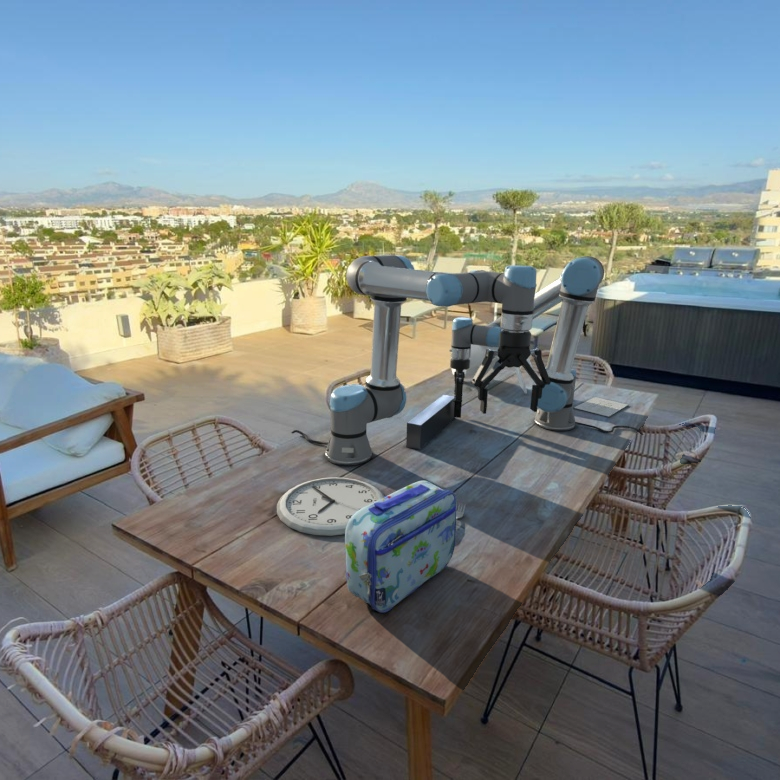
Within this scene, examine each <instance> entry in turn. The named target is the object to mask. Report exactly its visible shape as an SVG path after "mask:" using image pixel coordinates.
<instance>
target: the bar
mask: <svg viewBox="0 0 780 780" xmlns="http://www.w3.org/2000/svg"><path fill="white" fill-rule="evenodd" d="M454 396H455V395H447V394H442V395H441V396H440V397H439V398H437V399H436V400H434V401H433V402H432V403H430V405H428V406H427V407H425V408H424V409H423V410H422V411H420V412H419V413H417V415H415V416H413V417H412V418H411V419H410V420H409V421H407V422H406V439H405V440H406V442H405V444H406V445H405V447H406V448H409V449H414V450H419V451H420V450H421V449H423V448H424V447H425V446H426V445H427V444H428V443H429V442H430V441H432V440H433V438H434V437H436V436H437V435H438V434H439V433H440V432H441V431H442V430H444V429H445V428H446V426H448V425H449V424H450V423H452V421H453V420H454V419H455V418H456V417H454V405H455V402H453V400H454V401H455V397H454Z"/></svg>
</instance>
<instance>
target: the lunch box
mask: <svg viewBox="0 0 780 780" xmlns="http://www.w3.org/2000/svg"><path fill="white" fill-rule="evenodd" d="M456 505H457V499H456V495H455V493H454V492H453V490H450V489H442V488H440V487H439V486H437V485H435V484H433V483H432V482H430V481H428V480H418V481H416V482H413V483H410V484H409V485H406V486H405V487H402V488H400V489H398V490H396V491H394V492H392V493H390V494H388V495H385V497H384V498H382V499H380V500H378V501H376V502H374V503H372V504H370V505H368V506H366V507H364V508H362V509H360V510H358V511H357V512H355V513H354V514H353V515H352V517H351V518H350V520H349V522H348V524H347V527H346V531H345V534H344V552H345V577H346V578H345V580H346V586H347V589H348V592H349V593H350V594H352V595H354V596H356V597H357V598H359V599H361V600H363V602H365V603H367V604H368V605H370V607H371V608H372V609H373V610H375V611H376V612H378V613H380V614H382V613H383V614H385V613H387V612H389V611H391V609H393V608H394V607H395V606H396V605H397V604H400V602H401V601H402V600H404V599H406V597H409V596H410V595H411V594H412V593H414V592H415V591H416V590H417V589H418V588H420V587H421V586H422V585H423V584H424V583H425V582H427V581H428V580H430V579H432V578H433V577H434V576H436V575H437V574H439V573H441V572H442V571H443V570H445V568H446V567H447V566H448V564H449V563H450V561H451V560H452V557H453V554H454V551H455V548H456V547H455V546H456V531H457V519H456V512H457V508H456Z"/></svg>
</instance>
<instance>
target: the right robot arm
mask: <svg viewBox="0 0 780 780" xmlns="http://www.w3.org/2000/svg"><path fill="white" fill-rule="evenodd" d="M604 276H605V267H604V265H603V263H602V262H601V261H600V260H599V259H598V258H596V257H594V256H588V255H587V256H586V255H585V256H582V257H581V256H580V257H577V258H574V259H571V261H569V262H568V263H567V264H566V265H565V267H564V268H563V269H562V273H560V275H559V278H558V279H557V280H555V281H554V282H552V283H551V284H549V285H547V286H545V287H544V288H542V289H541V290H539V291H538V292H536V293H535V297H534V306H533V319H532V321H533V320H534V319H536V318H537V317H539V316H541V315H543V314H544V313H546V312H547V311H549V310H551V309H552V308H554V307H555V306H557V305H559V304H560V303H561V305H560V309H559V313H558V317H557V322H556V326H555V330H554V333H553V336H552V337H553V338H552V340H551V341H552V342H551V346H550V349H549V354H548V357H547V361H546V366H545V368H546V371H547V373H548V376H549V379H550V381H551V383H550V384H549V385H545V387H544V388H543V389H542V397H541V399H538V407H537V412H536V413H535V417H534V424H535V425H536V426H537V427H539V428H542V429H544V430H549V431H556V432H567V431H572V430H574V429H575V428H576V425H579V426H584V427H587V428H592V429H595V430H598V431H600V432H602V433H605V434H611V433H613V432H614V430H615V429H617V428H619V429H630V430H634V431H635V432H637V433H638V434H640V435H641V436H644V433H643V432H642V431H641V430H639V429H638V428H636V427H634V426H629V425H614V426H612V427H611V430H606V429H603V428H600V427H598V426H595V425H591V424H587V423H583V422H578V421H576V418H575V417H576V416H575V413H574V407H573V405H574V398H575V389H576V382H577V379H578V377H577V376H578V375H577V370H575V368H573V365H574V362H575V357H576V354H577V350H578V347H579V343H580V338H581V335H582V332H583V327H584V324H585V320H586V316H587V313H588V309H589V306H590V305H592V304H593V303H595V301H596V297H597V293H598V291H599V286H600V284H601V283H602V281H603V280H604ZM500 325H501V316H500V317H497V319H495V320H493V321H492V322H490V323H488V324H486V325H482V324H474V322H473V319H472V318H470V317H464V316H463V317H455V318H454V319H453V321H452V327H451V348H450V349H449V352H450V361H449V368H450V369H451V368H452V369H456V370H455V371H456V372H454V376H453V377H454V378H453V379H454V393H453V394H454V395H453V396H454V397H455V401H454V400H453V402H455V405H454V417H455V418H458V419H461V418H462V405H463V396H464V395H463V394H464V393H463V390H464V384H465V380H464V377H465V374H464V372H463V370H467V369H469V367H470V359H469V358H470V356H471V344H472V345H481V346H488V347H499V339H500V331H501V330H502V328H501V327H500ZM452 369H451V370H452ZM538 377H539V378H540V380H542V378H541V376H540V374H539V375H538Z"/></svg>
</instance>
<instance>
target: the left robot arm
mask: <svg viewBox="0 0 780 780" xmlns="http://www.w3.org/2000/svg"><path fill="white" fill-rule="evenodd" d="M537 273H538V272H537V268H535V267H534V266H531V265H519V264H518V265H514V264H513V265H507V266H506V267H505V269H504V272H497V271H487V270H483V269H481V270H480V269H479V270H471V271H469V272H443V271H433V270H423V269H415V267H414V265H413V264H412V262H411V260H410V259H409V258H407V256H404V255H397V254H381V255H364V256H360V257H357V258H355V259H354V260H353V261H352V262H351V263H350V264H349V265H348V267H347V270H346V275H345V277H346V282H347V285H348V287H349V288H350V290H352V291H353V292H354V293H356V294H358V295H360V296H369V299H370V301H371V302H372V303H373V304H374V305H373V323H372V341H371V356H370V357H371V359H370V374H369V375H368V376H366V377H365V385H362V384H357V383H356V384H355V383H353V384H345V385H341V386H339V387H337V388H335V389H333V391H332V392H331V394H330V398H329V399H330V401H329V402H330V403H329V408H330V411H329V412H330V436H329V440H328V441H321V440H320V441H319V440H315V439H310V438H309V437H308V435H307V434H306V433H304V432H303V431H301V430H299V429H294V430H292V431H291V432H290V433H291V434H294V433H298V434H299V435H301V436H303V437H304V438H305V440H306V441H307V442H309V443H313V444H319V445H326V449H325V459H326V460H327V461H328V462H329V463H331V464H334V465H337V466H346V467H347V466H349V467H351V466H357V465H358V466H359V465H362V464H363V465H364V464H365V463H367V462H369V461H370V460H371V459H372V457H373V451H372V447H371V444H370V441H369V438H368V434H367V427H368V426H367V424H370V423H373V422H377V421H381V420H384V419H390V418H392V417H394V416H398V415H399V414H400V413H402V411H403V410H404V409H405V406H406V403H407V392H406V391H405V390H406V389H405V387H404V386H403V384H402V383H401V380H400V378H399V377H398V375H397V370H398V356H399V355H398V354H399V344H400V328H401V315H402V306H403V305H404V304H405V303H406V302H407V299H412V300H418V301H425V302H430V303H431V304H432V305H434V306H435V307H445V308H446V307H453V306H459V305H467V304H468V305H469V304H479V303H485V302H486V303H495V304H501V316H500V317H501V325H500V327H501V328H502V330H501V331H500V339H499V348H498V350H491V349H489V348H488V349H487V350H486V354H485V358H484V359H483V361H482V363H481V365H480V367H479V368H478V370H477V372H476V374H475V375H474V377H473V379H471V382H470V383H471V384H472V385H473V386H474V387H475V388H477V400H479V401H480V407H479V411H480V412H481V413H482V414H483V415H486V414H487V410H488V395H489V389H488V388H487V386H488V385H489V384H490V383H491V382H492V381H493V380H494V379H495V378H496V377H497V375H498V374H499V373H500V372H501V371H502V370H504V369H505V368H506V367H507V368H510V369H511V368H514V367H520V368H521V367H522V368H523V369H524V370H525V372H526V373H527V374H528V375H529V377H530V379H531V378H532V379H533V381H534V382H535V383H536V385H533V384H532V386H531V393H530V394H531V395H530V404H529V405H530V406H529V410H531V411H532V412H533V413H537V410H538V399H541V397H542V389H543V388H544V387H545V385H549V384H550V383H551V381H550V379H549V376H548V373H547V371H546V368H545V367H546V366H545V363H544V360H543V358H542V357H543V351H542V350H541V349H539V348H538V347H534V348H533V349H530V347H531V340H532V332H531V330H532V328H533V320H534V319H533V306H534V297H535V294H536V289H537ZM532 319H533V320H532ZM496 355H497V356H498V357H499V359H498V360H497V361H496V363H495V365H494V366H493V367H492V368H491V369H490V370H489V371H488V373H487V374H486V375H485V373H486V371H487V369H488V367H489V366H490V364H491V362H492V359H494V358H495V356H496ZM528 357H529V358H530V357H532V358H533V361H534V363H535V367H536V368H537V371H538V374H539V375H540V376H541V378H542V380H540V378H539V375H538V374H537V372H535V370H534V368H533V367H532V368H533V369H532V368H531V366H530V364H529V363H528V362H527V359H528ZM484 375H485V376H484ZM483 376H484V377H483Z"/></svg>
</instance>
